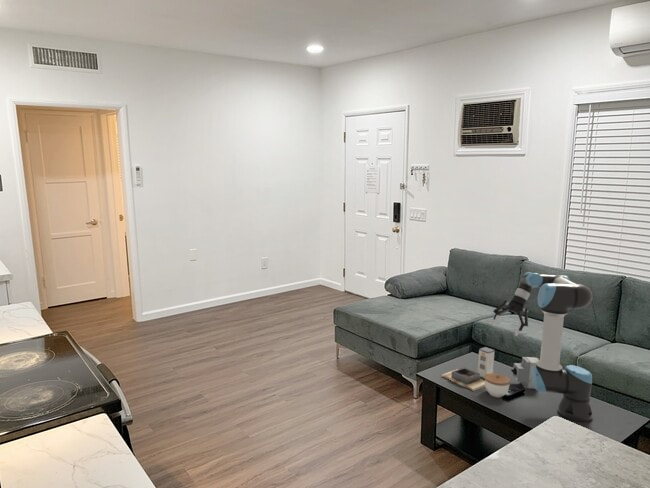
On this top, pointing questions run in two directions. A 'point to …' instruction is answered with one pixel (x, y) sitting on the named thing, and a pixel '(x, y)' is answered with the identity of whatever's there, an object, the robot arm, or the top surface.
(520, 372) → the circuit breaker
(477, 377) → the socket collar
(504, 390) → the lidded bowl
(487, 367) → the power strip
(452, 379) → the mount board
